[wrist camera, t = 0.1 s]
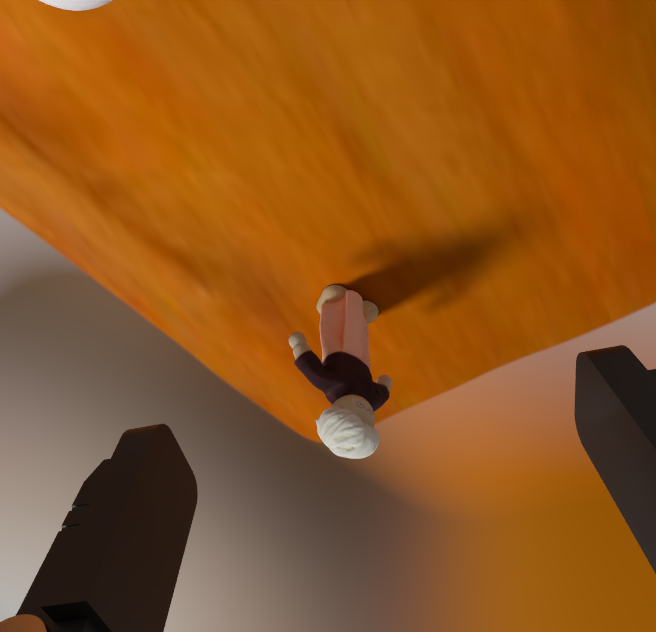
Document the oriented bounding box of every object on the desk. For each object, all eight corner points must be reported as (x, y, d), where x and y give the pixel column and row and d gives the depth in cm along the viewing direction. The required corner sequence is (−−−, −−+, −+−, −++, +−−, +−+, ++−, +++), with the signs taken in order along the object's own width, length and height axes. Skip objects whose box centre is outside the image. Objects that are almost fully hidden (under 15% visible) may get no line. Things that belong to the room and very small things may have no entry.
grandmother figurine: (401, 300, 37) (434, 449, 27) (376, 338, 39) (398, 488, 29) (300, 264, 34) (297, 411, 25) (280, 306, 37) (269, 456, 27)
